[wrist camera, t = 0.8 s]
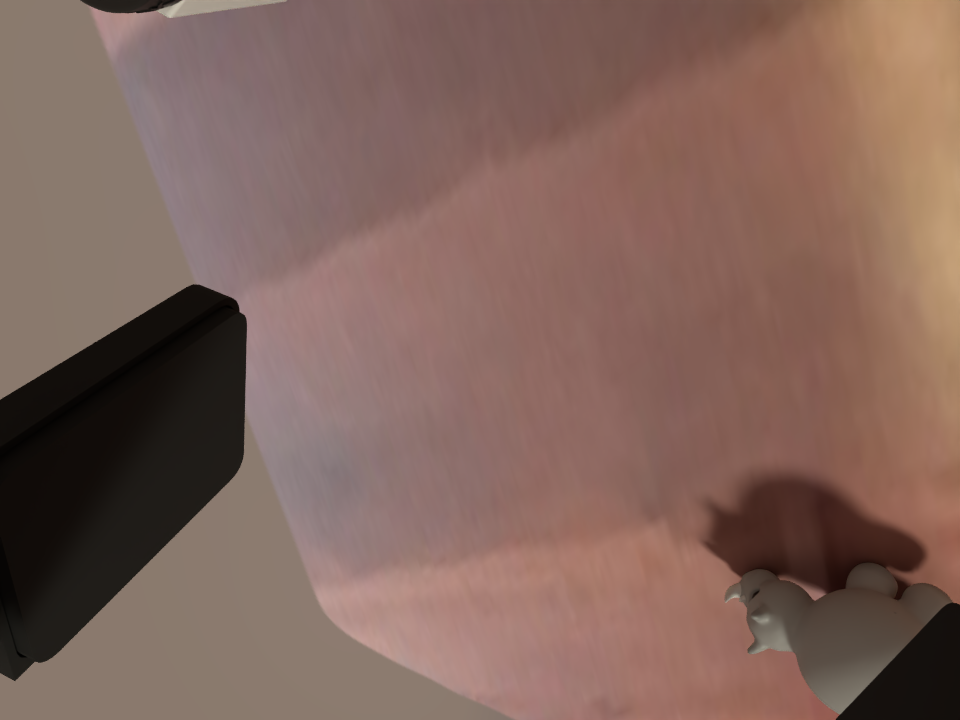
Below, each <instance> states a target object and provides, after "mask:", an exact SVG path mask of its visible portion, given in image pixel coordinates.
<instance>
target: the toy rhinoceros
mask: <svg viewBox="0 0 960 720" xmlns="http://www.w3.org/2000/svg"><path fill="white" fill-rule="evenodd" d="M897 591H898V585H897V582H896V580H895V578H894V577H893V576H892V574H891V573H890V572H889V571H888V570H886V569H885V568H884V567H882V566H880V565H878V564H876V563H861V564H859V565H857V566H855V567H854V568H853V569H852V571H851V572H850V574H849V576H848V578H847V582H846V588H845V589H841V590H837V591H834V592H831V593H829V594H826V595H824V596H823V597H821V598H819V599H818V600H816V601H814V600H813V599H812V598H811V597H810V596H809V594H808V593H807V592H806V591H805V590H804V589H803V588H801V587H800V586H799V585H797V584H795V583H793V582H790V581H785V580H779V578H778V577H777V576H776V575H774V574H773V573H772V572H770V571H768V570H764V569H755V570H752V571H750V572H747V573H745V574H744V575H743V576H742V579H741V581H740V582H739V583H736V584H734V585H732V586H730V587H729V588H728V590H727V591H726V594H725V602H727V601H728V600H730V599H731V598H734V597H737V598H740V599H739V602H743V603H744V605H745V606H746V607H747V623H748V626H749V628H750V630H751V632H752V634H753V636H754V638H755V641H754V643H753V644H752V645H751V646H750V647H749V648H748V653H749V654H755V653H759V652H761V651H763V650H766V649H768V648H771V649H774V650H778V651H790V652H794V653H795V654H796V657H797V661H798V665H799V668H800V671H801V673H802V676H803V678H804V679H805V681H806V683H807V684H808V686H809V687H810V689H811V690H812V691H813V693H814V694H815V695H816V696H817V697H818V698H819V699H820V700H821V701H822V702H823V703H824V704H825V705H826V706H828V707H829V708H830V709H832V710H833V711H835V712H836V713H838V714H841V713H842V712H843V711H844V710H845V709H846V708H847V707H848V706H849V705H850V704H851V703H852V702H853V701H854V700H855V698H856V697H857V696H858V695H859V694H860V693H861V692H862V691H863V690H864V689H865V688H866V687H867V686H868V685H869V684H870V683H871V682H872V681H873V680H874V679H875V678H876V676H877V675H878V674H879V673H880V672H881V671H882V670H883V669H884V668H885V667H886V666H887V665H888V664H889V663H890V662H891V661H892V660H893V659H894V658H895V657H896V656H897V654H898V653H899V652H900V651H901V650H902V649H903V648H904V647H905V646H906V645H907V644H908V643H909V642H910V641H911V640H912V639H913V638H914V637H915V636H916V635H917V634H918V632H919V631H920V630H921V629H922V628H923V627H924V626H925V625H926V624H927V623H928V622H929V621H930V620H931V619H932V618H933V617H934V616H935V615H936V614H937V613H938V612H939V611H940V609H941V608H943V607H944V606H945V605H946V604H949V603H953V602H952V600H951V599H950V597H949V596H948V595H947V594H946V593H945V592H943V591H942V590H940V589H939V588H937V587H935V586H933V585H931V584H927V583H917V584H913V585H911V586H909V587H908V588H907V589H906V590H905V591H904V593H903V595H902V597H901V599H899V600H895V599H894V598H895V596H896V594H897Z"/></svg>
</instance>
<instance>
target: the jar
mask: <svg viewBox="0 0 960 720" xmlns="http://www.w3.org/2000/svg"><path fill="white" fill-rule="evenodd" d="M81 1H82V2H84V3H85V4H87V5H89V6H91V7H93V8H96V9H98V10H102V11H105V12H111V13H134V12H136V13H144V12H151V11H157V12H159V13H161V14H162V15H164V16H166V17H168V18H175V17H182V16H189V15H196V14H203V13H210V12H217V11H224V10H231V9H238V8H245V7H252V6H259V5H266V4H273V3H280V2H285V1H287V0H81Z"/></svg>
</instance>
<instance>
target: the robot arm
mask: <svg viewBox="0 0 960 720" xmlns="http://www.w3.org/2000/svg"><path fill="white" fill-rule="evenodd" d="M246 339H247V321H246V317H245V315H243V314H242V313H240V312H239V305H238V303H237V301H236V300H234V299H233V298H231V297H228V296H226V295H223V294H221V293H218V292H216V291H214V290H211V289H209V288H206V287H204V286H201V285H194V284H193V285H191V286H189V287H186V288H185V289H183V290H181V291H180V292H178V293H176V294H175V295H173V296H171V297H170V298H168V299H167V300H165V301H163V302H161V303H160V304H158V305H156V306H155V307H153V308H151V309H150V310H148V311H146V312H145V313H143V314H142V315H140V316H139V317H136V318H135V319H133V320H132V321H130V322H128V323H127V324H125V325H123V326H122V327H120V328H118V329H117V330H115V331H113V332H112V333H110V334H108V335H107V336H105V337H103V338H102V339H100V340H98V341H97V342H95V343H93V344H92V345H90V346H89V347H87V348H85V349H83V350H82V351H80V352H79V353H77V354H75V355H74V356H72V357H70V358H69V359H67V360H65V361H64V362H62V363H60V364H59V365H57V366H55V367H54V368H52V369H51V370H49V371H47V372H45V373H44V374H42V375H40V376H39V377H37V378H36V379H34V380H32V381H30V382H29V383H27V384H26V385H24V386H22V387H21V388H19V389H17V390H16V391H14V392H12V393H11V394H9V395H7V396H6V397H4V398H2V399H1V400H0V673H1V674H3V675H5V676H7V677H8V678H10V679H12V680H14V681H15V680H16V679H18V678H19V677H20V676H21V674H23V673H24V672H25V671H26V670H27V669H28V668H29V667H30V666H31V665H32V664H33V663H34V662H39V663H41V662H45V661H47V660H49V659H50V658H52V657H53V656H54V655H56V654H57V653H58V652H59V651H60V650H61V649H62V648H63V647H64V646H65V645H66V644H67V643H68V642H69V641H70V640H71V639H72V638H73V637H74V636H75V635H76V634H77V633H78V632H79V631H80V630H81V629H82V628H83V627H84V626H85V625H86V624H87V623H88V622H89V621H90V620H91V619H92V618H93V617H94V616H95V615H96V614H97V613H98V612H99V611H100V610H101V609H102V608H103V607H104V606H105V605H106V604H107V603H108V602H109V601H110V600H111V599H112V598H113V597H114V596H115V595H116V594H117V593H118V592H119V591H120V590H121V589H122V588H123V587H124V586H125V585H126V584H127V583H128V582H129V581H130V580H131V579H132V578H133V577H134V576H135V575H136V574H137V573H138V572H139V571H140V570H141V569H142V568H143V567H144V566H145V565H146V564H147V563H148V562H149V561H150V560H151V559H152V558H153V557H154V556H155V555H156V554H157V553H158V552H159V551H160V550H161V549H162V548H163V547H164V546H165V545H166V544H167V543H168V542H169V541H170V540H171V539H172V538H173V537H174V536H175V535H176V534H177V533H178V532H179V531H180V530H181V529H182V528H183V527H184V526H185V525H186V524H187V523H188V522H189V521H190V520H191V519H192V518H193V517H194V516H195V515H196V514H197V513H198V512H199V511H200V510H201V509H202V508H203V507H204V506H205V505H206V504H207V503H208V502H209V501H210V500H211V499H212V498H213V497H214V496H215V495H216V494H217V493H218V492H219V491H220V490H221V489H222V488H223V487H224V486H225V485H226V484H227V483H228V482H229V481H230V480H231V479H232V478H233V477H234V476H235V474H236V473H237V471H238V470H239V468H240V465H241V463H242V460H243V455H244V422H245V421H244V420H245V381H246ZM836 720H960V605H959V604H957V603H949V604H946V605H945V606H944V607H943V608H941V609H940V611H939V612H938V613H937V614H936V615H935V616H934V617H933V618H932V619H931V620H930V621H929V622H928V623H927V624H926V625H925V626H924V627H923V628H922V629H921V630H920V631H919V632H918V634H917V635H916V636H915V637H914V638H913V639H912V640H911V641H910V642H909V643H908V644H907V645H906V646H905V647H904V648H903V649H902V650H901V651H900V652H899V653H898V654H897V656H896V657H895V658H894V659H893V660H892V661H891V662H890V663H889V664H888V665H887V666H886V667H885V668H884V669H883V670H882V671H881V672H880V673H879V674H878V675H877V676H876V678H875V679H874V680H873V681H872V682H871V683H870V684H869V685H868V686H867V687H866V688H865V689H864V690H863V691H862V692H861V693H860V694H859V695H858V696H857V697H856V698H855V700H854V701H853V702H852V703H851V704H850V705H849V706H848V707H847V708H846V709H845V710H844V711H843V712H842V713H841V714H840V715H839V716H838V717H837V719H836Z"/></svg>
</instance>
